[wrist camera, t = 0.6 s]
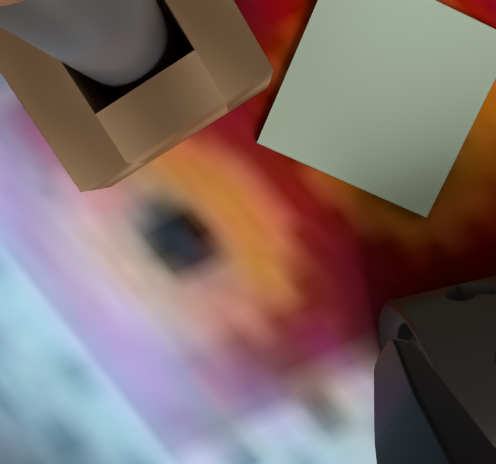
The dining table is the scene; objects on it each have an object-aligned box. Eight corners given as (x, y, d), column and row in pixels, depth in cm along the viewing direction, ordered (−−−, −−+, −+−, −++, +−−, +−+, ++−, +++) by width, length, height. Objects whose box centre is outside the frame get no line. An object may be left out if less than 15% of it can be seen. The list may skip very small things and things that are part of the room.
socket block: (110, 187, 22) (80, 192, 18) (-1, 20, 21) (-58, -15, 17) (268, 87, 21) (273, 69, 17) (163, -91, 20) (144, -154, 16)
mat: (422, 216, 22) (426, 217, 22) (256, 142, 22) (256, 142, 21) (508, 41, 21) (515, 38, 21) (335, -42, 20) (338, -47, 20)
